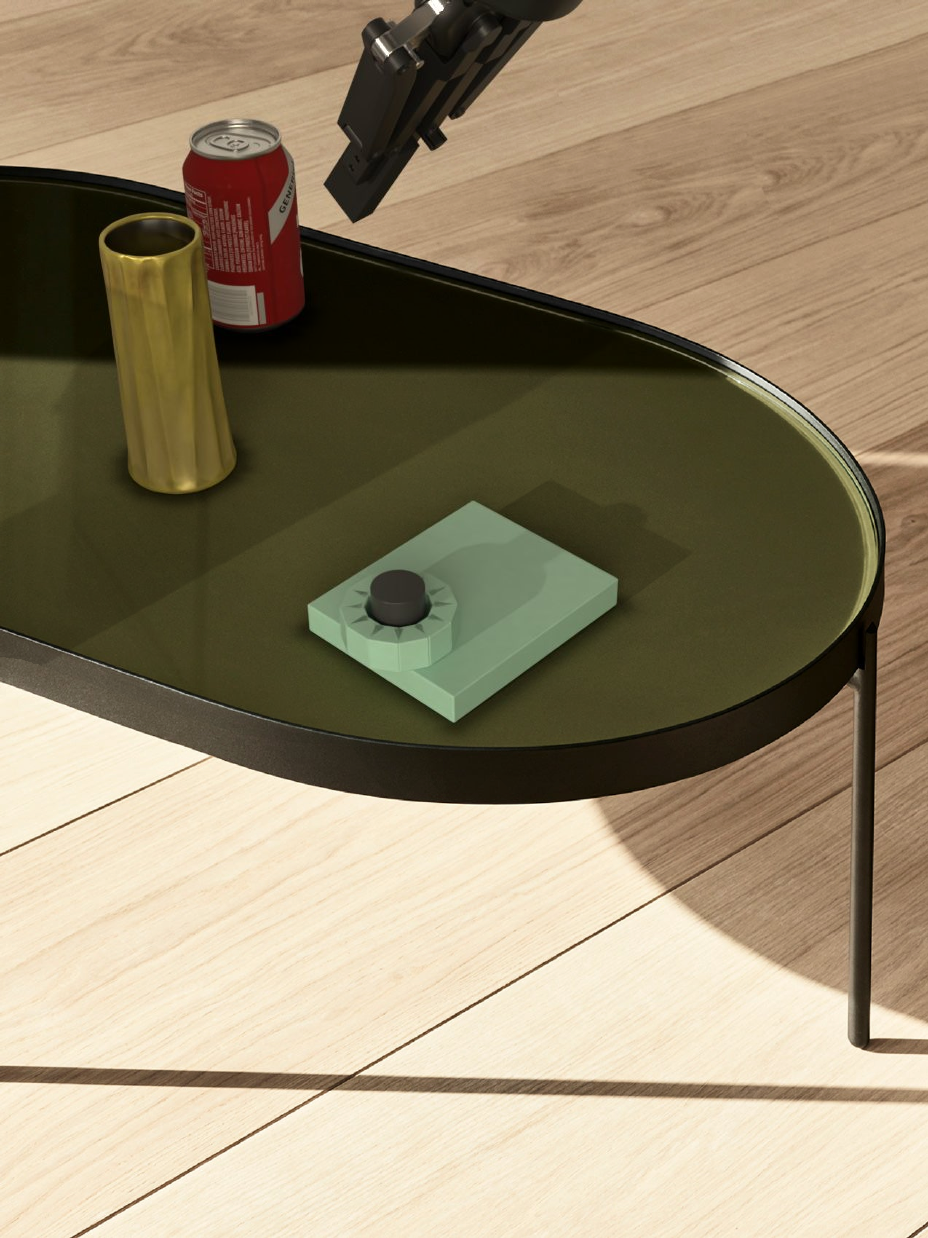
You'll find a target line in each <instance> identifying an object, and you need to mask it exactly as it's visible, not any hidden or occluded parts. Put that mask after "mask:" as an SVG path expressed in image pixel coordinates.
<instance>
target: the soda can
mask: <svg viewBox="0 0 928 1238" xmlns="http://www.w3.org/2000/svg"><path fill="white" fill-rule="evenodd" d="M282 140H283V139H282V132H281V131H280V129H279V128H278V127H277V126H276V125H274V124H273V123H270V122H267V121H265V120H261V119H256V118H243V117H241V118H239V117H238V118H237V117H236V118H226V119H220V120H215V121H211V122H208V123H207V124H204V125H201V126H200V127H198V128H197V129H195V130H194V131H192V133H190V136H189V138H188V144H189V148H190V150H189V152H188V154H187V155H186V157H185V159H184V161H183V163H182V167H181V168H182V169H181V174H182V181H183V189H184V195H185V196H184V197H185V205H186V211H187V213H186V214H187V218H189V219H190V220H192V221H193V222H195V223H196V224H197V225H198V226H199V227H200V229H201V232H202V237H203V243H204V255H205V263H206V271H207V280H208V288H209V296H210V304H211V313H212V321H213V327H217V328H219V329H223V330H226V331H229V332H233V333H237V334H261V333H266V332H270V331H273V330H277V329H278V328H280V327H282V326H284V325H286V324H289V323H290V322H292V321H293V320H295V319H296V318H297V317H298V316H299V315H300V314H301V313H302V311H303V310H304V308H305V304H306V297H305V296H306V295H305V284H304V272H303V258H302V245H301V244H302V243H301V233H300V231H301V230H300V220H299V219H300V218H299V210H298V207H299V206H298V196H297V195H298V194H297V181H296V169H295V160H294V158H293V156H292V154H291V153H290V152H289V151H288V149H287V148H286V147H285V146H284V144H283V143H282Z"/></svg>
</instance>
